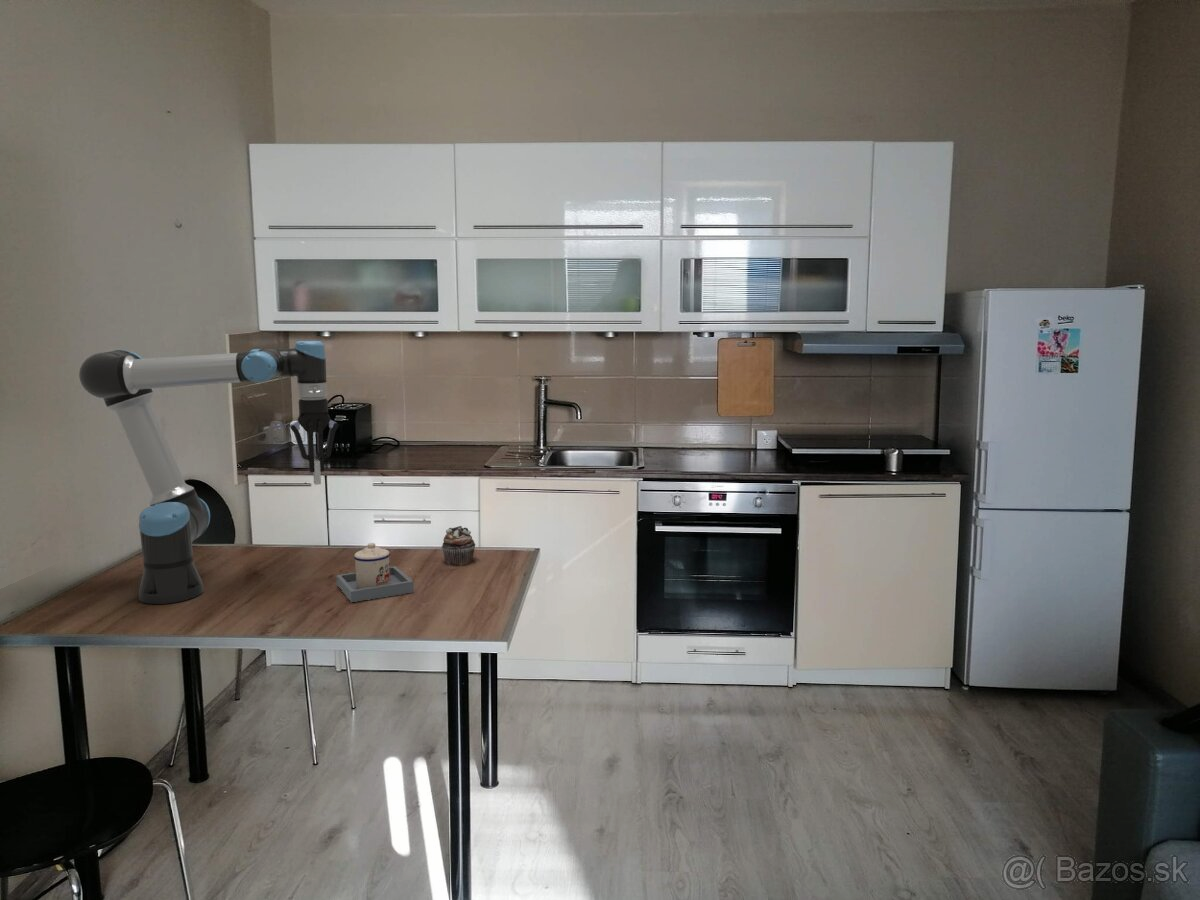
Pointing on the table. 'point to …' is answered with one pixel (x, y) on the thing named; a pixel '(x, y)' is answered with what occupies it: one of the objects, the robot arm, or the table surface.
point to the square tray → (397, 586)
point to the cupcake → (458, 546)
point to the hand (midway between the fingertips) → (317, 483)
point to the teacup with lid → (372, 567)
